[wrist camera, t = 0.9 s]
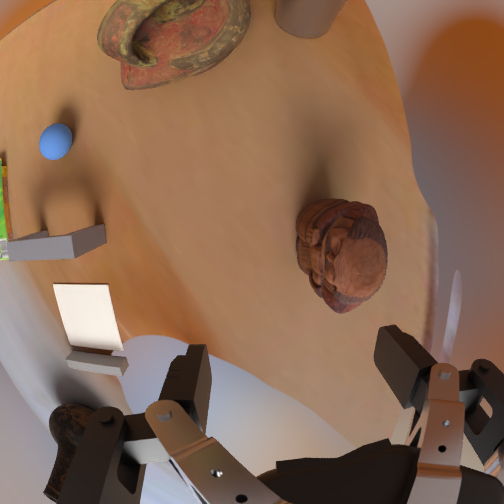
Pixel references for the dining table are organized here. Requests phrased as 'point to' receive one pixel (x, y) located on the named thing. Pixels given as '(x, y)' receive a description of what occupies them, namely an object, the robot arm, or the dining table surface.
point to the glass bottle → (65, 442)
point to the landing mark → (88, 315)
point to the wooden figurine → (342, 251)
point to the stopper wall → (97, 363)
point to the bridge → (56, 244)
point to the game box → (4, 214)
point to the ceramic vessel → (171, 37)
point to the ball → (55, 141)
